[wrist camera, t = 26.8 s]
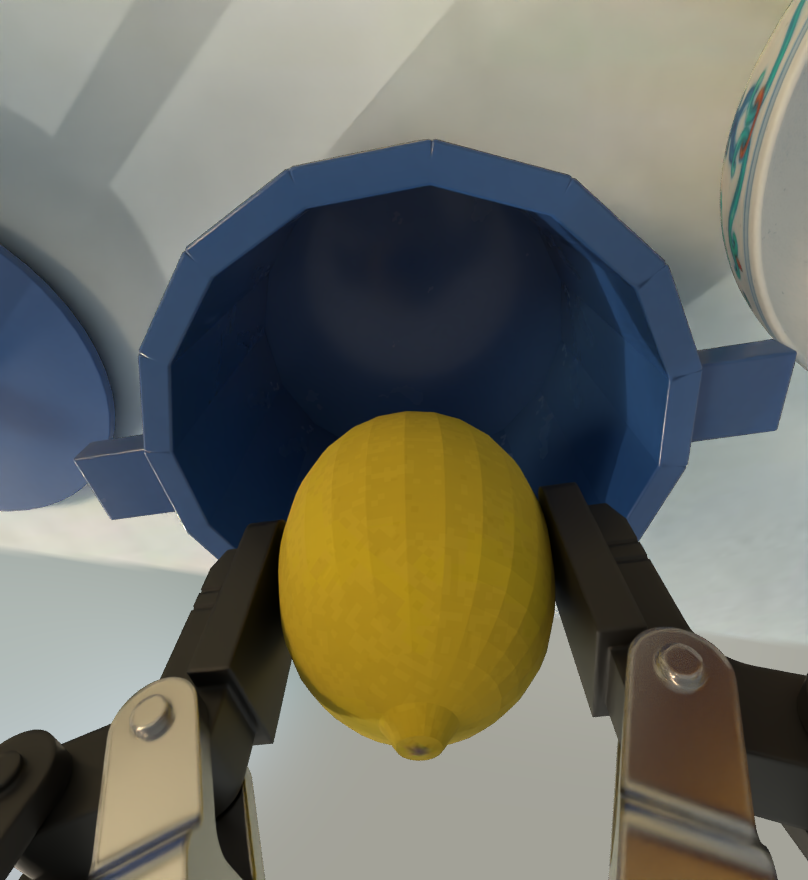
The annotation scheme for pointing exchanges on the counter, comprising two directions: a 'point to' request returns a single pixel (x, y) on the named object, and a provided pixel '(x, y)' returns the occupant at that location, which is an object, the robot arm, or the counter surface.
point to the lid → (45, 392)
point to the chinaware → (772, 185)
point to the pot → (422, 341)
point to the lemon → (416, 581)
